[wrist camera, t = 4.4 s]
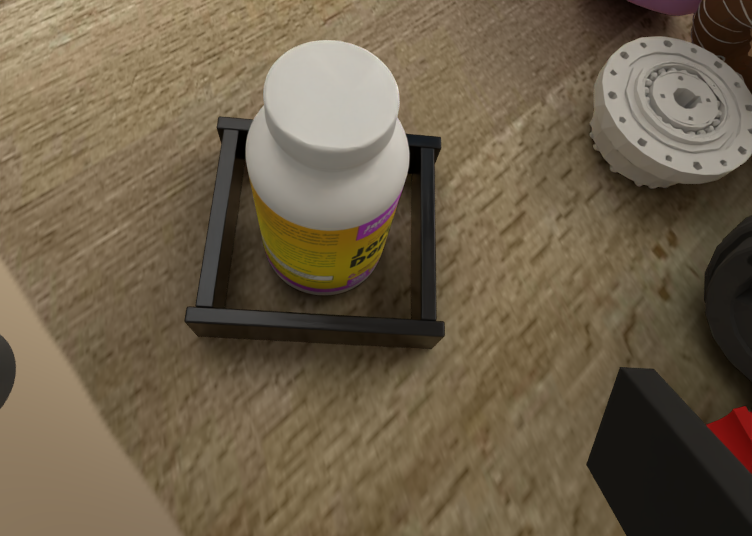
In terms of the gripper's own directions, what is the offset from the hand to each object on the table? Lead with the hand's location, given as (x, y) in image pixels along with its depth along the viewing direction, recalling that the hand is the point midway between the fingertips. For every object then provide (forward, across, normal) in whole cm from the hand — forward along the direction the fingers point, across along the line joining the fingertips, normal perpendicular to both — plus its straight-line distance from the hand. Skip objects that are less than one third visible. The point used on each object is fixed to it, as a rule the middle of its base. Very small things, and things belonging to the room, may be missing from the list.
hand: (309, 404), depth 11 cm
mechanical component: (+20, +21, 0) cm, 29 cm away
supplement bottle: (+19, 0, -4) cm, 19 cm away
